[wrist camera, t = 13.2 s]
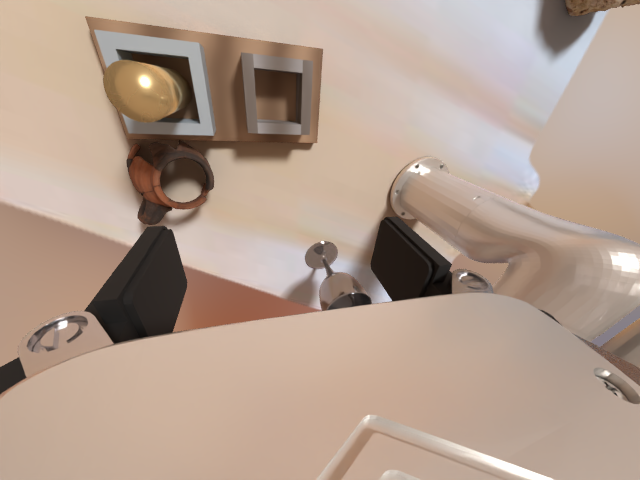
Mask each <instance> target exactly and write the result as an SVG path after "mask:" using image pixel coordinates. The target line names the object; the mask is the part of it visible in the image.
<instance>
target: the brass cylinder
mask: <svg viewBox="0 0 640 480" xmlns="http://www.w3.org/2000/svg"><path fill="white" fill-rule="evenodd" d="M103 83H104V88H105V92H106V94H107V96H108V98H109V100H110V101H111V103H112V104H113V105H114V106H115V107H116V108H117V109H118V110H119V111H120V112H121V113H122V114H124V115H125V116H127V117H129V118H130V119H133V120H135V121H138V122H144V123H151V122H155V121H158V120H160V119H162V118H164V117H166V116H168V115H170V114H172V113H174V112H176V111H179V110H181V109H183V108H185V107H186V106H188V105H189V103H190V101H191V98H192V91H191V87H190V85H189V83H188V81H187V80H186V79H185V77H184V76H183V75H182V74H180V73H179V72H177V71H175V70H173V69H169V68H165V67H160V66H155V65H150V64H145V63H140V62H136V61H131V60H119V61H115V62H113V63H112V64H110V65H109V66H108V67H107V69H106V71H105V73H104V78H103Z"/></svg>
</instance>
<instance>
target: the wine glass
mask: <svg viewBox="0 0 640 480" xmlns="http://www.w3.org/2000/svg"><path fill="white" fill-rule="evenodd" d="M337 254H338V250H337V247H336V246H335V245H334V244H333V243H331V242H326V241H324V242H318V243H316V244H314V245H313V246H311V247H310V248H309V249H308V251H307V253H306V256H305V261H306V263H307V265H308V266H309V267H311V268H314V269H323V268H325V269H326V273H327V276H326V278H325V279H324V281H323V282H322V284H321V286H320V291H319V298H320V304H321V309H322V311H326V310H333V309H340V308H347V307H355V306H362V305H369V304H372V302H371V299H370V297H369V295H368V294H367V292H366V291H365V289H364V288H363V286H362V285H361V284H360V283H359V282H358V281H357V280H356V279H355V278H354V277H353V276H351V275H349V274H347V273H343V272H334V271H333V270H332V269H331V268H330V265H331V264H332V263H333V262H334V261H335V260H336V258H337Z"/></svg>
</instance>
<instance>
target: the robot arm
mask: <svg viewBox="0 0 640 480" xmlns="http://www.w3.org/2000/svg"><path fill="white" fill-rule="evenodd" d="M390 203H391V206H392V209H393V210H394V212H395V213H396V214H397V215H399V216H400V217H402V218H404V219H417V220H418V221H420V222H421V223H422V224H424V225H425V226H426V227H428V228H429V229H430V230H432V231H433V232H434V233H435V234H437V235H438V236H439V237H441V238H442V239H443V240H445V241H446V242H447V243H449V244H450V245H451V246H453V247H454V248H455V249H457V250H458V251H459V252H461V253H462V254H463V255H465V256H466V257H468V258H469V259H472V260H474V261H478V262H482V263H509V265H508V267H507V269H506V270H505V271H504V273H503V274H502V276H501V277H500V278H499V279H498V281H497V282H496V283H495V284H494V285H493V286H492V285H491V283H490V282H489V281H488V280H487V279H486V278H484V277H483V276H481V275H480V274H478V273H476V272H473V271H470V270H466V269H457V270H455V271H453V273H451V272H450V271H449V270H450V267H451V265H452V264H451V263H450V262H449V261H447V260H446V259H445V258H444V257H443V256H442V255H441V254H439V253H438V252H437V251H436V250H435V249H434V248H433V247H431V246H430V245H429V244H428V243H427V242H426V241H425V240H423V239H422V238H421V237H420V236H419V235H418V234H417V233H416V232H414V231H413V230H412V229H411V228H410V227H409V226H408V225H406V224H405V223H404V222H403V221H402V220H401V219H400V218H398V217H386V218H385V219H384V220H382V221H381V223H380V227H379V231H378V235H377V239H376V244H375V248H374V252H373V256H372V260H371V269H372V271H373V272H374V274H375V275H376V277H377V278H378V280H379V281H380V283H381V284H382V286H383V287H384V289H385V290H386V292H387V293H388V295H389V296H390V298H391V299H392V301H391V302H384V303H377V304H369V305H362V306H355V307H347V308H340V309H333V310H326V311H319V312H311V313H304V314H297V315H290V316H283V317H276V318H269V319H262V320H255V321H248V322H241V323H235V324H227V325H221V326H213V327H206V328H199V329H192V330H186V331H179V332H173V329H174V326H175V323H176V320H177V317H178V314H179V311H180V307H181V304H182V301H183V298H184V295H185V292H186V288H187V279H186V276H185V272H184V270H183V265H182V262H181V258H180V255H179V251H178V248H177V244H176V241H175V237H174V234H173V231H172V230H171V229H167V228H166V227H165V226H154V227H147V228H146V230H145V231H144V232H143V234H142V235H141V236H140V238H139V239H138V240H137V242H136V243H135V244H134V246H133V247H132V248H131V250H130V251H129V252H128V254H127V255H126V256H125V258H124V259H123V260H122V262H121V263H120V264H119V265H118V267H117V268H116V269H115V271H114V272H113V273H112V275H111V276H110V277H109V279H108V280H107V281H106V283H105V284H104V285H103V287H102V288H101V289H100V291H99V292H98V293H97V295H96V296H95V297H94V299H93V300H92V301H91V303H90V304H89V305H88V307H87V308H86V309H85V311H74V312H69V313H65V314H62V315H59V316H56V317H54V318H51V319H49V320H47V321H45V322H44V323H41V324H40V325H38V326H37V327H36V328H34V329H33V330H31V331H30V332H29V333H28V334H27V335H26V336H25V337H24V338H23V339H22V340H21V342H20V344H19V345H18V355H19V358H17V359H15V360H13V361H11V362H9V363H7V364H5V365H4V366H2V367H0V480H640V318H639V319H638V320H636V321H635V322H633V323H632V324H631V325H629V326H628V327H627V328H625V329H624V330H622V331H621V332H620V333H618V334H617V335H616V336H614V337H613V338H611V339H610V340H609V341H607V342H606V343H605V344H603V345H602V346H601V347H598V346H597V345H594V344H593V343H591V341H592V340H593V339H595V338H596V337H597V336H600V335H601V334H603V333H604V332H605V331H606V330H608V329H609V328H610V327H612V326H613V325H614V324H616V323H617V322H618V321H620V320H621V319H622V318H624V317H625V316H626V315H628V314H629V313H630V312H631V311H633V310H634V309H635V308H636V307H638V306H639V305H640V244H638V243H636V242H634V241H631V240H629V239H627V238H625V237H622V236H619V235H616V234H613V233H610V232H607V231H603V230H599V229H596V228H592V227H589V226H585V225H581V224H577V223H574V222H570V221H567V220H564V219H561V218H557V217H554V216H551V215H548V214H545V213H542V212H540V211H537V210H534V209H532V208H529V207H527V206H524V205H521V204H519V203H517V202H514V201H512V200H510V199H507V198H505V197H502V196H500V195H498V194H495V193H493V192H491V191H488V190H486V189H484V188H481V187H479V186H477V185H474V184H472V183H470V182H467V181H465V180H463V179H460V178H458V177H456V176H453V175H451V174H449V170H448V167H447V166H446V164H445V163H444V162H443V161H442V160H439V159H437V158H434V157H423V158H420V159H417V160H415V161H413V162H412V163H410V164H409V165H407V166H406V167H405V168H404V169H403V170H402V171H401V172H400V174H399V175H398V177H397V178H396V180H395V182H394V184H393V186H392V189H391V194H390ZM172 332H173V333H172Z"/></svg>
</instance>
